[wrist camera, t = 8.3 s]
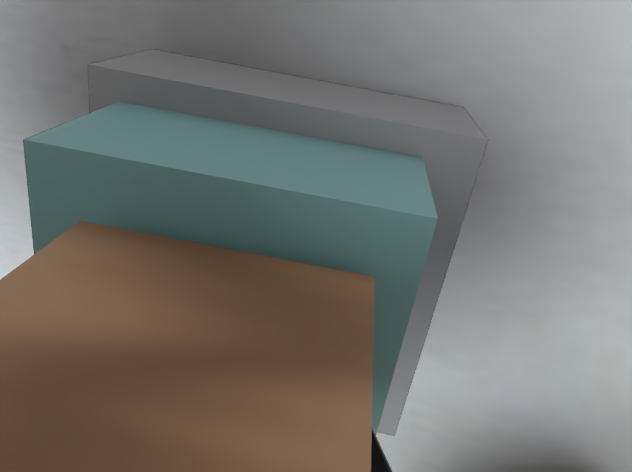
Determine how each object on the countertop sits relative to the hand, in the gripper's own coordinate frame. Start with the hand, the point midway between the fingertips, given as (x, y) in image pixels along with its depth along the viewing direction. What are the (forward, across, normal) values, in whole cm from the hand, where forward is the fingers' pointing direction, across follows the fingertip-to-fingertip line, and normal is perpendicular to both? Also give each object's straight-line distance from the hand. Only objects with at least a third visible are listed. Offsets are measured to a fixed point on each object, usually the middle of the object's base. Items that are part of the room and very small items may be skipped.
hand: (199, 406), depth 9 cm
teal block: (+5, 0, 0) cm, 5 cm away
